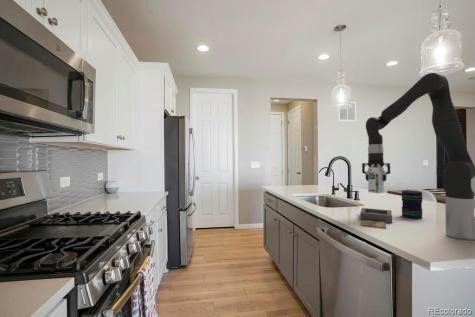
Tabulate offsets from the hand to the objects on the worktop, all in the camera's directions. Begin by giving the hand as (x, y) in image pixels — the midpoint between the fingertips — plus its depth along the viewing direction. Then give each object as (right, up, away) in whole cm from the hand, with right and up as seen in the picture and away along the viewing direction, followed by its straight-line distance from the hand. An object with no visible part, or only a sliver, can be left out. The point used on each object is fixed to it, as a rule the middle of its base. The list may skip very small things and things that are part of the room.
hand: (375, 181), depth 137 cm
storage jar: (+23, -21, +3) cm, 31 cm away
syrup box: (0, -7, 0) cm, 7 cm away
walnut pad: (-8, -21, -12) cm, 26 cm away
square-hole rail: (0, -21, 0) cm, 21 cm away
